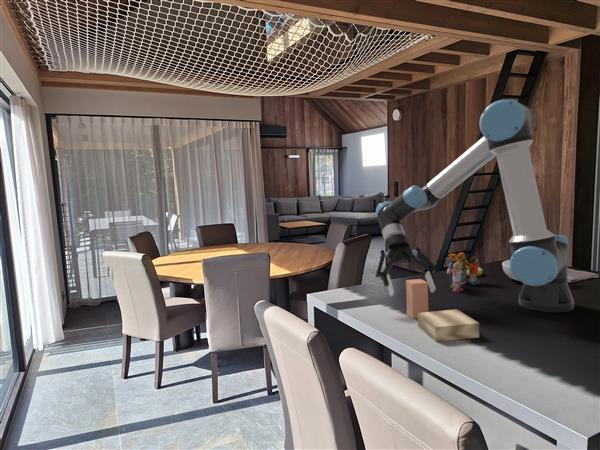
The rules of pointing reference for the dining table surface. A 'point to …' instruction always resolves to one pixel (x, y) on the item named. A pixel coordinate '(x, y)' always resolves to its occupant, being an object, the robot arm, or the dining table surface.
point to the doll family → (462, 270)
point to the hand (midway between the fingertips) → (413, 292)
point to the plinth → (448, 325)
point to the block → (416, 297)
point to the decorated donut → (476, 274)
